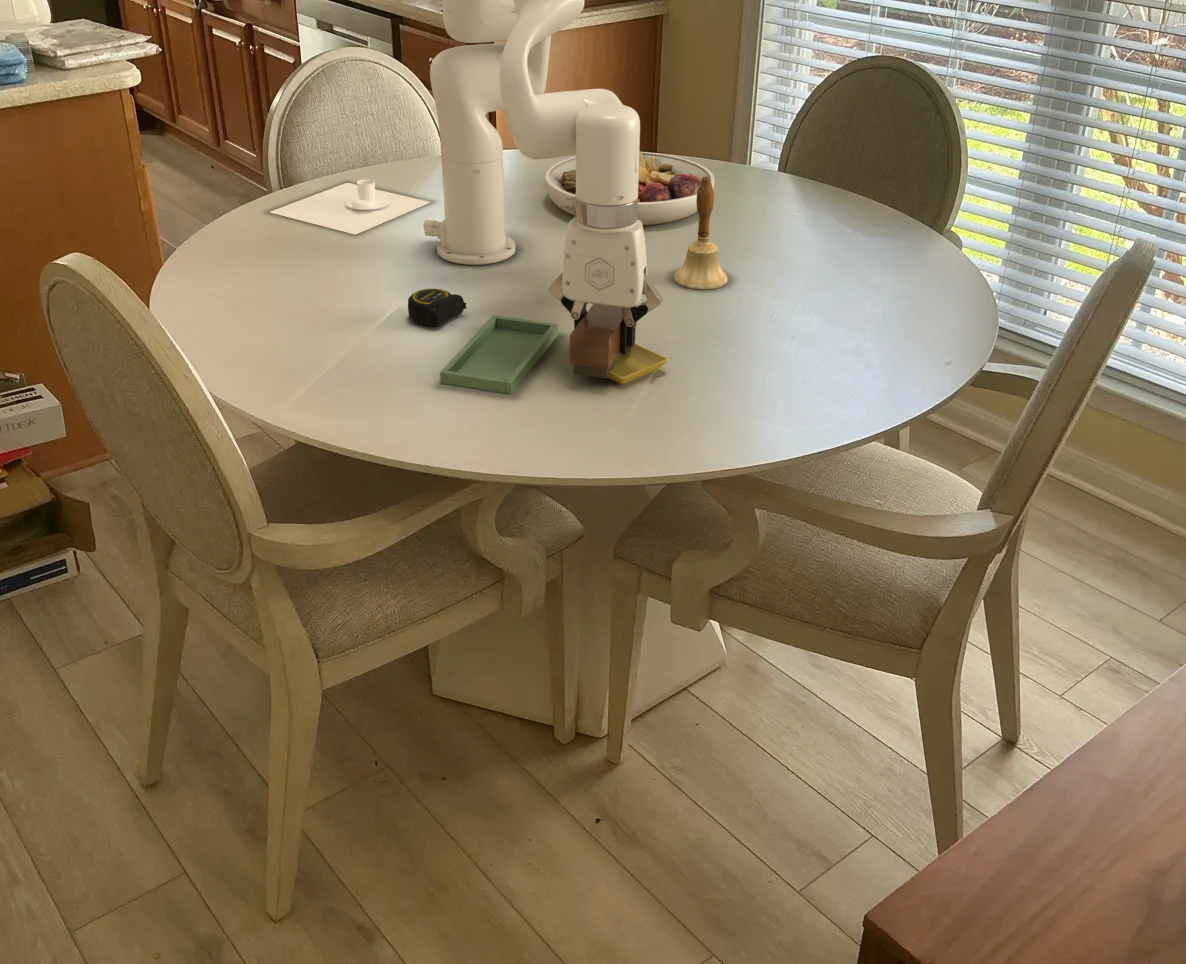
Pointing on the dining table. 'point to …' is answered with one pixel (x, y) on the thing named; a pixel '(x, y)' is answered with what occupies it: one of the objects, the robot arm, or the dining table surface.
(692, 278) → the hand bell
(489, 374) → the tray
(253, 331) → the dining table surface
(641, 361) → the yellow flat tray
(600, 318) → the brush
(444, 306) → the tape measure
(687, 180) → the bowl
